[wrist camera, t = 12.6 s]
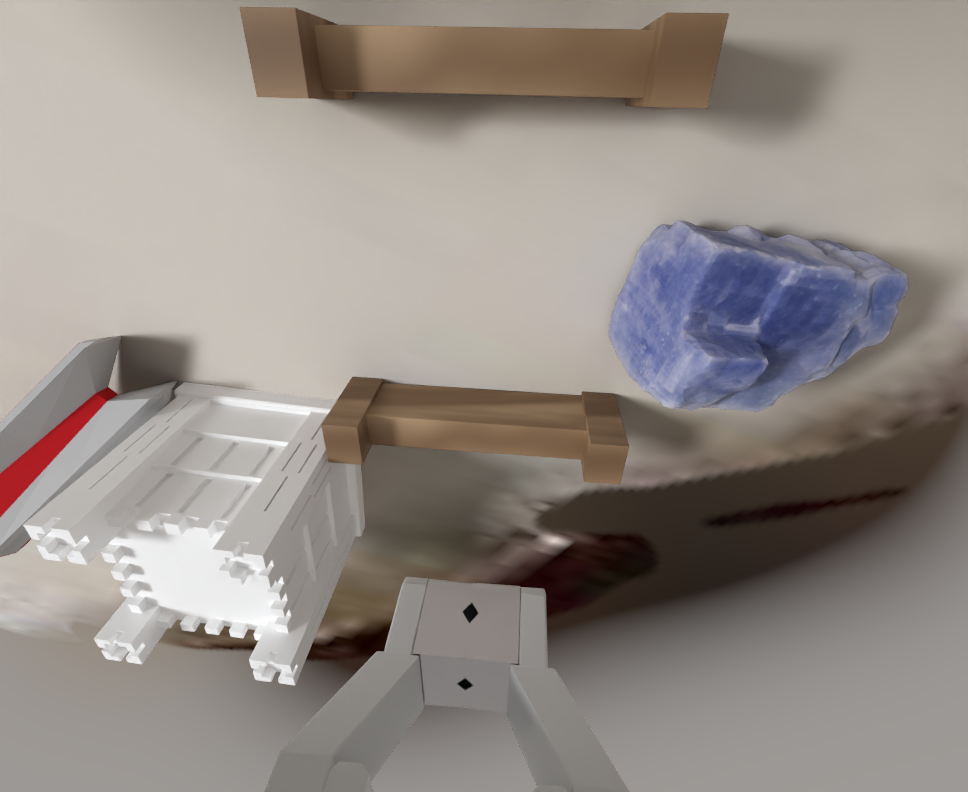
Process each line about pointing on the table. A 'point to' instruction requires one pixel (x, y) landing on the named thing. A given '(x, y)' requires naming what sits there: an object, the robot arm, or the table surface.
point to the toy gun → (65, 433)
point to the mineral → (746, 314)
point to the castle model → (216, 524)
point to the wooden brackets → (482, 71)
